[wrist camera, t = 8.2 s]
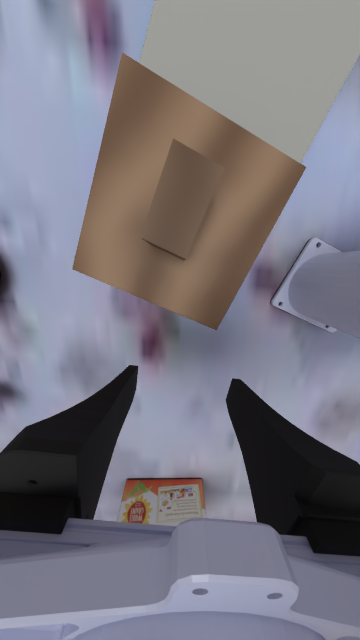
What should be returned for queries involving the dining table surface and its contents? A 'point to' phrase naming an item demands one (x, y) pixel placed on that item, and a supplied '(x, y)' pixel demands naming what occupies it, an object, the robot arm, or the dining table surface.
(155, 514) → the cracker box
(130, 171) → the lid
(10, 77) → the dining table surface
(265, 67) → the mat
